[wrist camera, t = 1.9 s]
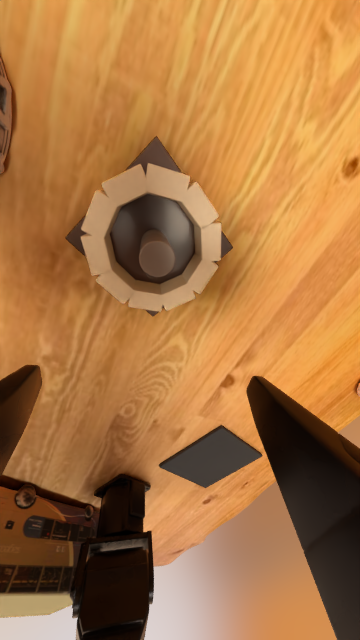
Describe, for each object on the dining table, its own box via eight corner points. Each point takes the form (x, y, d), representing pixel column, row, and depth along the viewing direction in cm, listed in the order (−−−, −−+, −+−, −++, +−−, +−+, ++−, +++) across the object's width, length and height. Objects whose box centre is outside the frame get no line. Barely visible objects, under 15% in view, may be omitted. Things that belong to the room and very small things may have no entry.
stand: (152, 313, 20) (155, 352, 15) (68, 236, 16) (30, 253, 11) (230, 246, 18) (264, 264, 13) (156, 138, 14) (161, 101, 9)
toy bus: (-31, 464, 26) (-112, 595, 18) (107, 504, 38) (98, 594, 29) (-79, 497, 28) (-173, 629, 19) (67, 525, 40) (48, 615, 31)
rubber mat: (205, 485, 38) (205, 488, 38) (159, 464, 33) (159, 467, 32) (261, 453, 35) (262, 456, 35) (221, 425, 30) (222, 427, 30)
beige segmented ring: (154, 318, 19) (155, 332, 17) (62, 236, 15) (49, 242, 13) (234, 249, 17) (246, 256, 15) (154, 133, 13) (156, 120, 11)
